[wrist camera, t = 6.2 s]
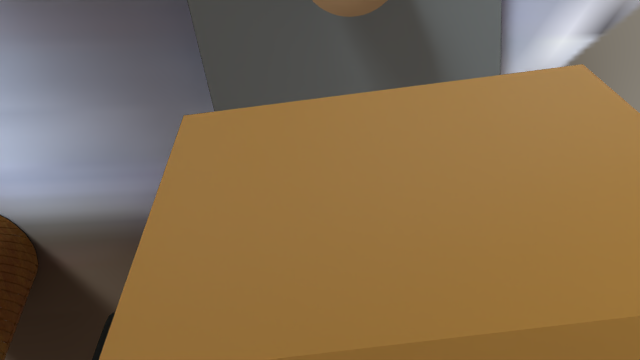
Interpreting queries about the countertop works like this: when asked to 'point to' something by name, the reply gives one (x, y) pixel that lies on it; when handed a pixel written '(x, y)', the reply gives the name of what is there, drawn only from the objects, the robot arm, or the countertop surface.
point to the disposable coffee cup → (14, 278)
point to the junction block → (340, 46)
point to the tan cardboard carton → (396, 228)
